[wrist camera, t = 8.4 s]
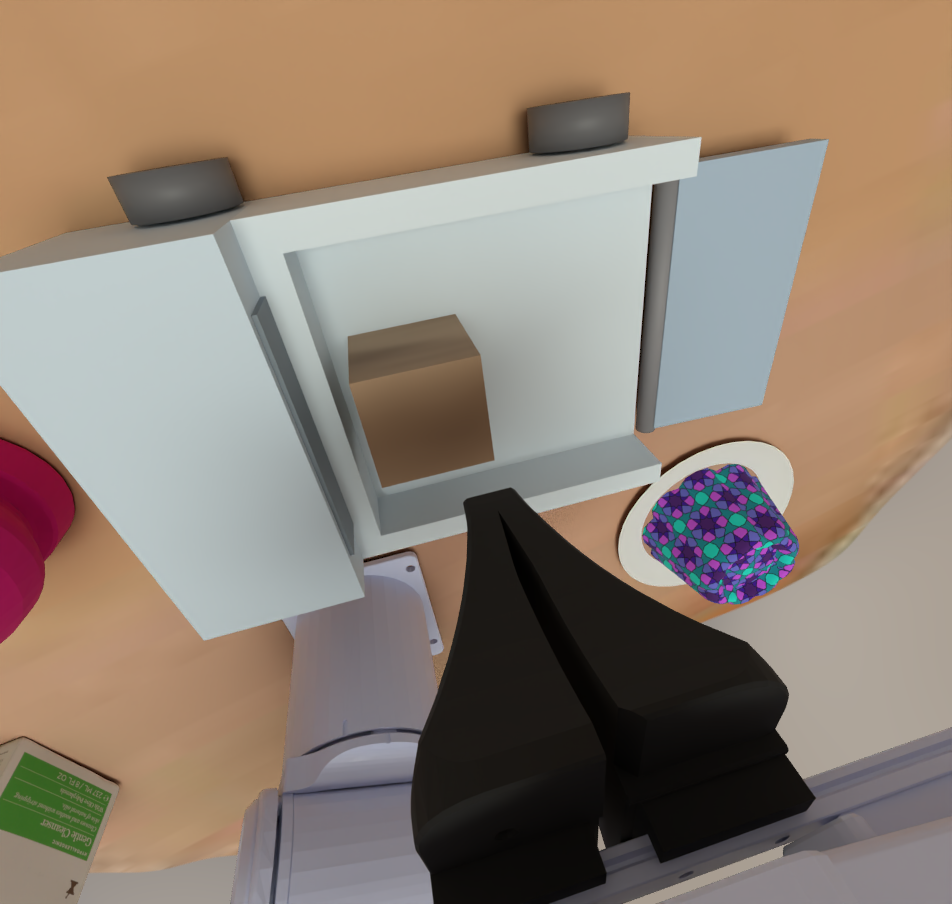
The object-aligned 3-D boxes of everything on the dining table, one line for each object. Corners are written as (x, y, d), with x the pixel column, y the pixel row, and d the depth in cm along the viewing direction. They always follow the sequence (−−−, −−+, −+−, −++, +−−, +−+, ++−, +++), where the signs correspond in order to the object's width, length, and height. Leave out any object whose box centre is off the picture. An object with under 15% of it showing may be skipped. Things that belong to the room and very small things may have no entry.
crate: (470, 407, 20) (494, 460, 17) (375, 429, 20) (381, 488, 16) (455, 313, 18) (480, 355, 14) (347, 336, 17) (348, 384, 14)
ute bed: (612, 450, 26) (681, 532, 21) (246, 542, 24) (219, 660, 18) (629, 91, 17) (759, 73, 12) (38, 187, 15) (-132, 219, 9)
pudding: (734, 572, 36) (787, 631, 31) (590, 584, 32) (627, 652, 28) (818, 434, 29) (898, 486, 25) (650, 433, 26) (709, 491, 22)
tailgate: (648, 159, 17) (664, 161, 16) (806, 132, 18) (830, 132, 17) (630, 422, 24) (640, 434, 23) (746, 397, 24) (761, 408, 24)
